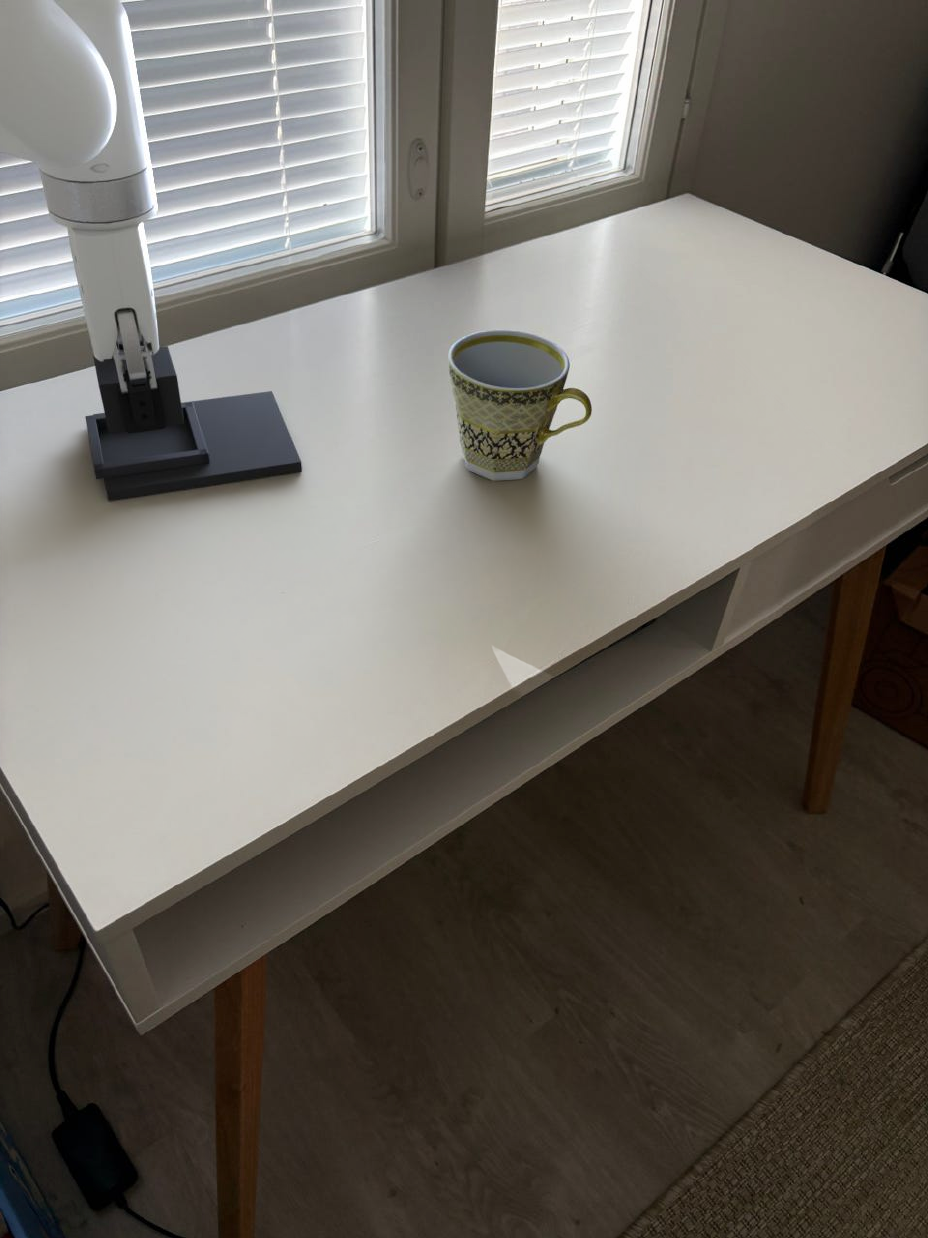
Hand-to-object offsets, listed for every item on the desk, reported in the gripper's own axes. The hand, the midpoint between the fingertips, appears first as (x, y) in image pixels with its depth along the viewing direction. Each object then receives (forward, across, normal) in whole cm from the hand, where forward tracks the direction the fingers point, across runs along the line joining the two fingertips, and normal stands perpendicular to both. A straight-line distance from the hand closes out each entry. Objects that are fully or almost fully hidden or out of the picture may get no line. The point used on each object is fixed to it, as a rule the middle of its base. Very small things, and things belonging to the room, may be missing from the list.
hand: (141, 408), depth 84 cm
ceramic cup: (+5, +10, +30) cm, 32 cm away
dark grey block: (0, 0, 0) cm, 0 cm away
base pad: (+4, 0, +4) cm, 6 cm away
